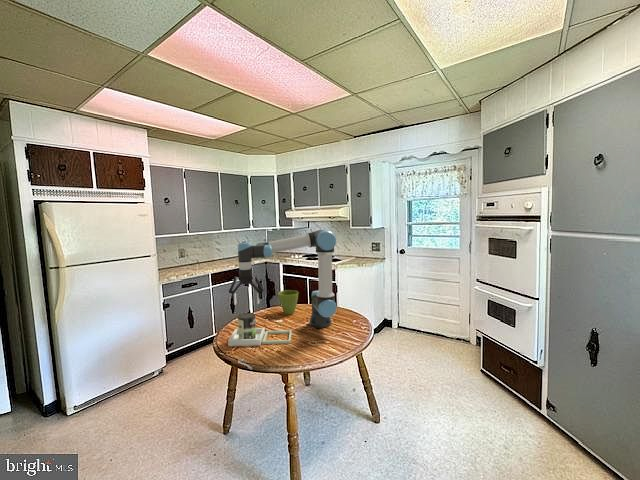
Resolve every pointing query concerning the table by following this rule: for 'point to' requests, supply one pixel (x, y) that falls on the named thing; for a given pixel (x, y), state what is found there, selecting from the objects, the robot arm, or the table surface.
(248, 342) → the bin
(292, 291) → the flower pot
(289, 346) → the table surface
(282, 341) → the frame
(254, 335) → the coffee can
